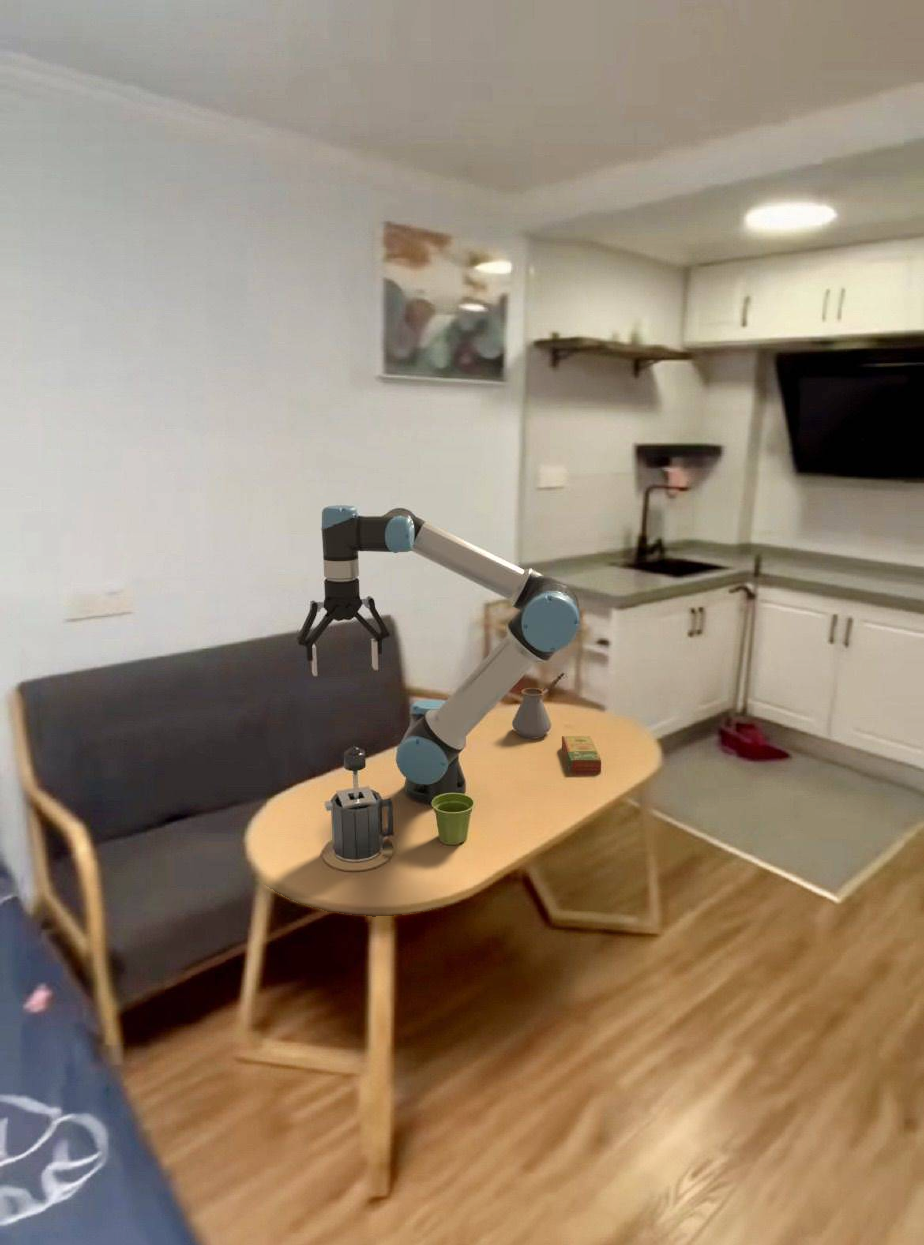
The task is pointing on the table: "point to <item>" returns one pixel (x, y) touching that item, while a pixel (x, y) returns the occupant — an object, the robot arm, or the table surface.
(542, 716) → the coffee pot
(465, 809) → the plant pot
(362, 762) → the plunger
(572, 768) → the carton
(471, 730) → the robot arm
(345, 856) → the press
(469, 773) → the table surface
